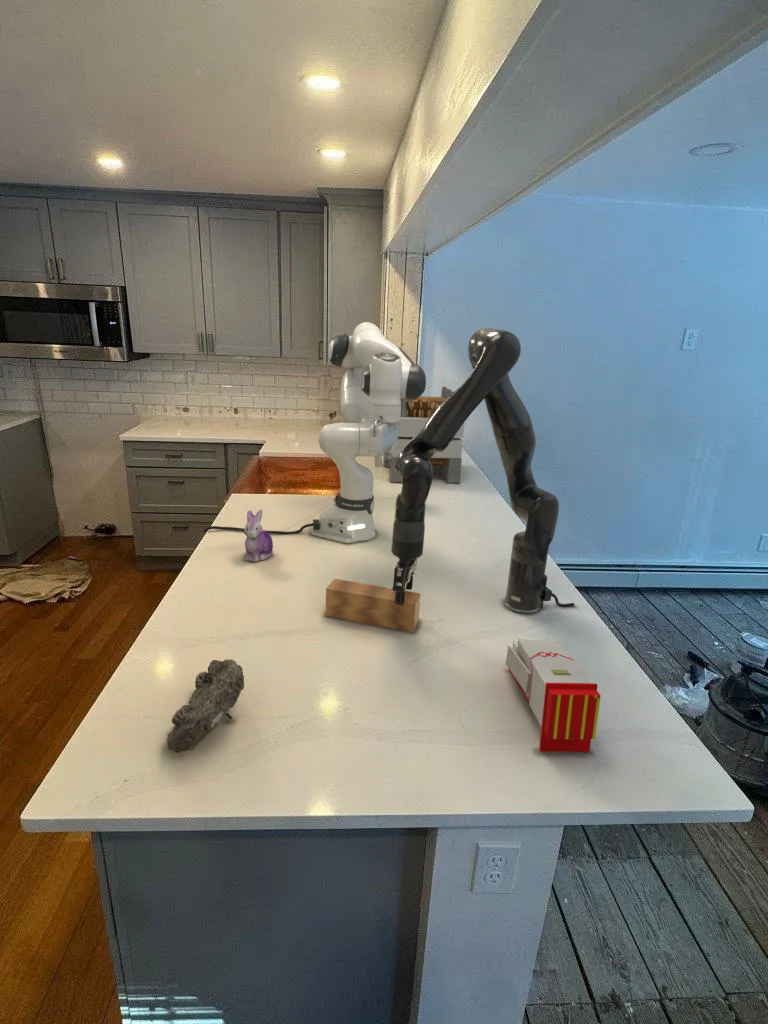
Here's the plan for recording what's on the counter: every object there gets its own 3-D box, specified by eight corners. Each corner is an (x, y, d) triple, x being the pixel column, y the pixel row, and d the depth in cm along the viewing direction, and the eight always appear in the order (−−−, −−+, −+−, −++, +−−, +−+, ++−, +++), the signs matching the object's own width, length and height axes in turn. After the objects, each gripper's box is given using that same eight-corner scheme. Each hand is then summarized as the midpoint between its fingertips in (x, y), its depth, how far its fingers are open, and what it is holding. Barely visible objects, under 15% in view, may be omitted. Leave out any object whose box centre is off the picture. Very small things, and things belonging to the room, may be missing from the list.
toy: (554, 622, 128) (610, 691, 98) (548, 677, 130) (601, 759, 101) (501, 621, 127) (541, 690, 98) (496, 676, 130) (534, 758, 101)
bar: (325, 615, 145) (325, 588, 142) (333, 605, 150) (334, 578, 148) (413, 632, 139) (415, 604, 137) (418, 620, 145) (420, 593, 142)
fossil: (192, 660, 117) (244, 628, 112) (224, 691, 120) (276, 661, 115) (142, 746, 98) (202, 712, 93) (182, 779, 101) (242, 748, 96)
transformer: (382, 463, 289) (386, 382, 275) (445, 464, 293) (451, 384, 279) (390, 482, 257) (394, 392, 243) (460, 483, 261) (468, 394, 247)
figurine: (248, 564, 171) (246, 518, 166) (239, 551, 179) (237, 507, 174) (278, 559, 175) (277, 514, 170) (269, 547, 183) (267, 503, 178)
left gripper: (386, 420, 147) (384, 472, 151) (403, 410, 165) (401, 456, 170) (363, 418, 148) (361, 470, 152) (382, 408, 167) (381, 454, 171)
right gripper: (417, 548, 127) (411, 612, 133) (429, 527, 140) (424, 586, 146) (385, 543, 129) (381, 606, 134) (400, 523, 142) (396, 581, 147)
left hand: (382, 462), depth 161 cm, fingers open, 8 cm apart
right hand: (403, 596), depth 140 cm, fingers open, 8 cm apart
